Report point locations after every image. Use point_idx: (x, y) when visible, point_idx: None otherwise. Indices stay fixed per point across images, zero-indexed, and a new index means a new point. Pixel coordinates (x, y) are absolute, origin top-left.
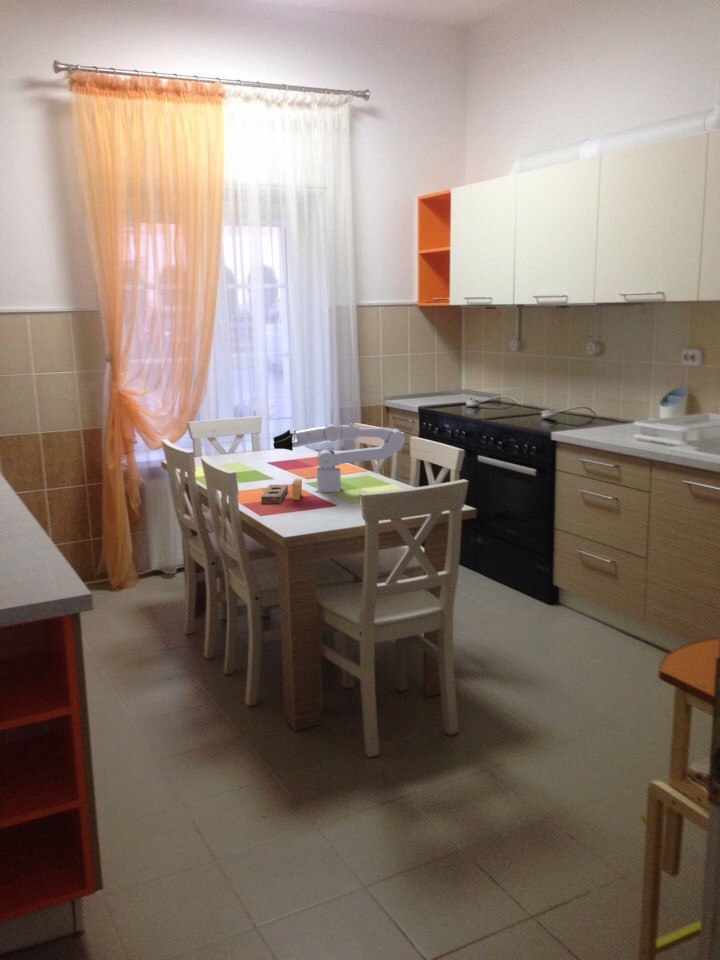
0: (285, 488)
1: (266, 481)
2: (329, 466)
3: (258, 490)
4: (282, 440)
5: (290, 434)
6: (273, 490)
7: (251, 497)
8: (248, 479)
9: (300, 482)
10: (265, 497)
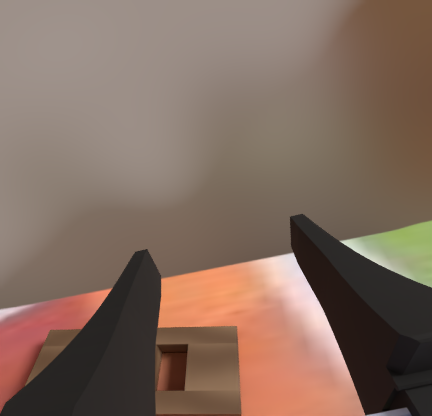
0: (170, 414)
1: None
2: None
3: (249, 293)
4: (93, 317)
5: (401, 373)
6: None
7: None
8: (391, 237)
9: None
10: (44, 346)
